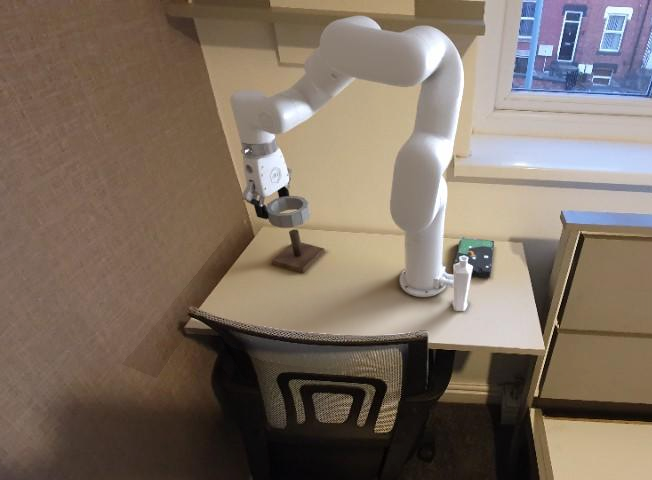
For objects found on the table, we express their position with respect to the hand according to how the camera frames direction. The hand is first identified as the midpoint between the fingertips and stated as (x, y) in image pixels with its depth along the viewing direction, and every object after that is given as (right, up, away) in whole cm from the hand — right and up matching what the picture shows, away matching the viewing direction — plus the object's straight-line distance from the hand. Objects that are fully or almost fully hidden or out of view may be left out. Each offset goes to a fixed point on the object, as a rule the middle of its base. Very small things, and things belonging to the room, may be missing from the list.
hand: (274, 209), depth 104 cm
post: (+4, -13, +7) cm, 16 cm away
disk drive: (+53, -14, +10) cm, 56 cm away
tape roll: (+4, -2, 0) cm, 5 cm away
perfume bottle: (+49, -25, -5) cm, 55 cm away
